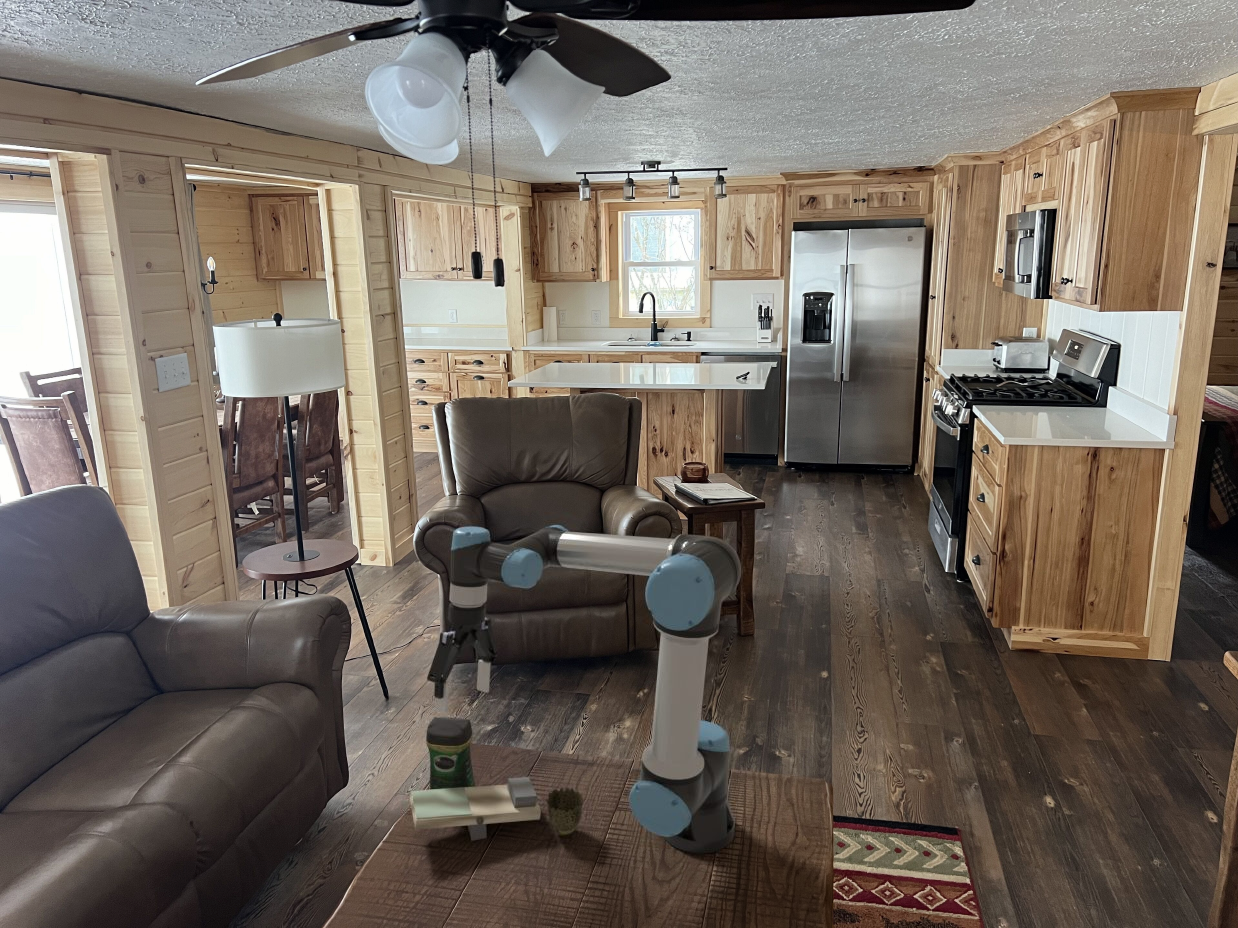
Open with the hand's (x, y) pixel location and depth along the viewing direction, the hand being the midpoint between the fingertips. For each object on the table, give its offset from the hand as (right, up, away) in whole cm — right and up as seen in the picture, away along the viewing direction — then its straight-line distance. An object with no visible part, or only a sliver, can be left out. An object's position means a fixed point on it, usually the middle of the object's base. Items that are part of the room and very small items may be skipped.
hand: (462, 700), depth 179 cm
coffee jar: (-4, -23, +8) cm, 25 cm away
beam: (+3, -20, -3) cm, 21 cm away
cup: (+22, -26, -3) cm, 34 cm away
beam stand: (+3, -26, -2) cm, 26 cm away
